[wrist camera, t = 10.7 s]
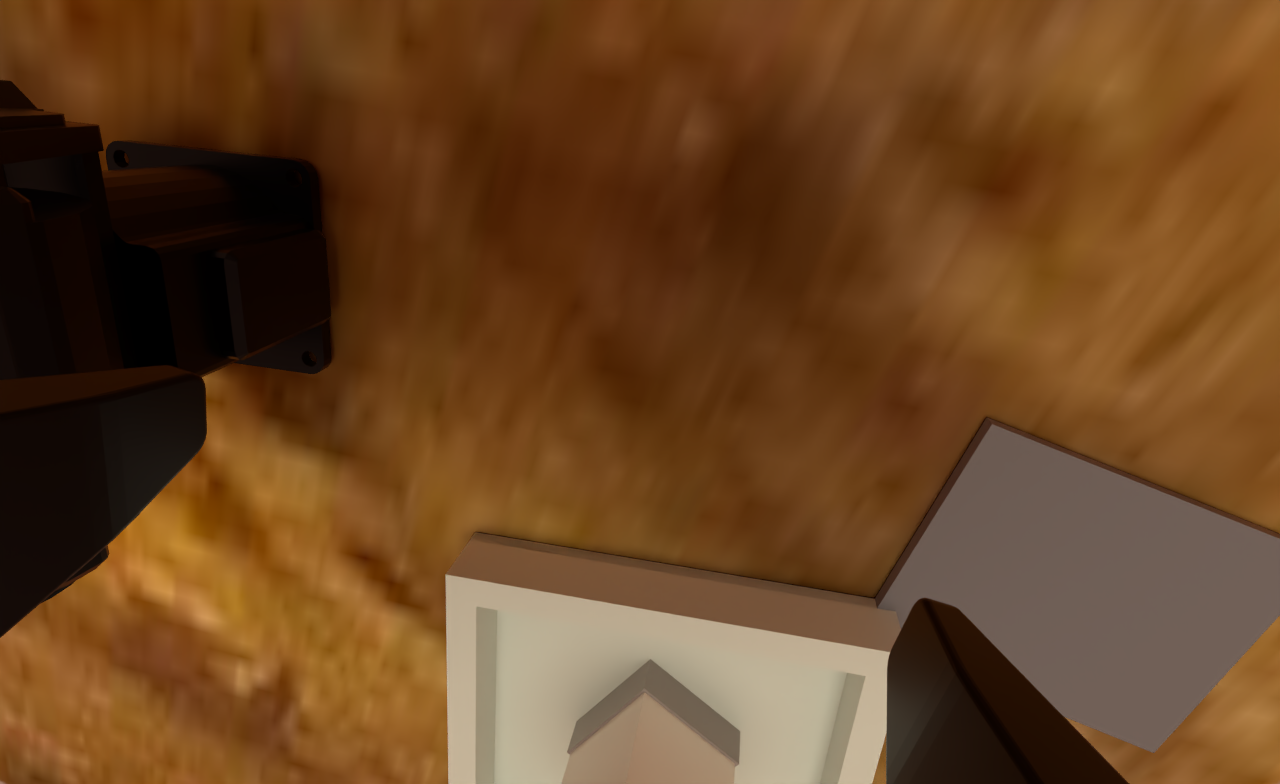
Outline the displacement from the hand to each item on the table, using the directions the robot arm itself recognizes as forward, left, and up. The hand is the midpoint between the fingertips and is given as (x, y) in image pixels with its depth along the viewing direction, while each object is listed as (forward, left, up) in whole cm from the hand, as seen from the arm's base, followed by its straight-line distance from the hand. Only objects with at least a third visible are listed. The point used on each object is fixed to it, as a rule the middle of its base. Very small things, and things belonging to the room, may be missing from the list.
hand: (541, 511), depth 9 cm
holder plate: (+13, -8, -13) cm, 20 cm away
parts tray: (+1, -16, -13) cm, 20 cm away
